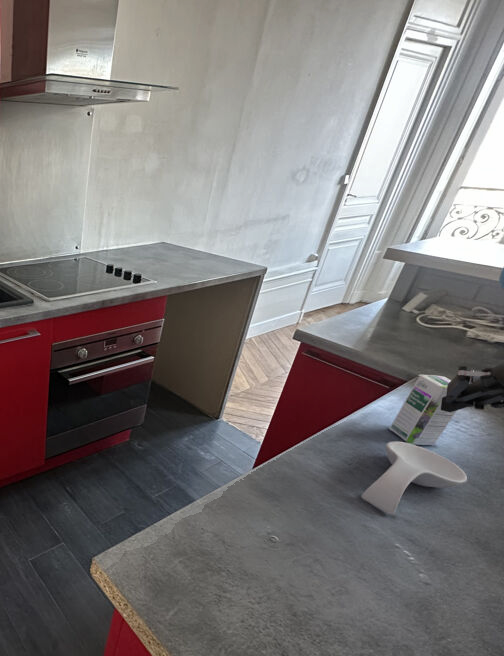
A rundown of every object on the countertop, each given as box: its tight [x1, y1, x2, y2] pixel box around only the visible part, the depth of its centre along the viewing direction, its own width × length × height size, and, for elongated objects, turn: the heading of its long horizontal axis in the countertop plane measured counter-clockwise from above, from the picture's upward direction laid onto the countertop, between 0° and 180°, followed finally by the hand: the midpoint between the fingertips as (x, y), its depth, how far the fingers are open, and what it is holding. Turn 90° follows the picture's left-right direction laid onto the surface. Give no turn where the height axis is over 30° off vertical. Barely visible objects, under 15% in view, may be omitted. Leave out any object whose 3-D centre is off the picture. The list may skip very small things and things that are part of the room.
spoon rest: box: [360, 440, 468, 516], centre depth 77 cm, size 24×12×7 cm, turn 121°
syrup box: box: [388, 374, 458, 446], centre depth 89 cm, size 6×6×14 cm
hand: (446, 404), depth 83 cm, fingers closed
